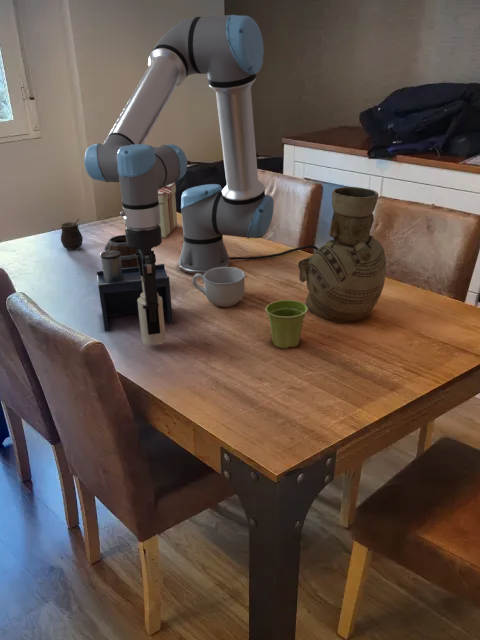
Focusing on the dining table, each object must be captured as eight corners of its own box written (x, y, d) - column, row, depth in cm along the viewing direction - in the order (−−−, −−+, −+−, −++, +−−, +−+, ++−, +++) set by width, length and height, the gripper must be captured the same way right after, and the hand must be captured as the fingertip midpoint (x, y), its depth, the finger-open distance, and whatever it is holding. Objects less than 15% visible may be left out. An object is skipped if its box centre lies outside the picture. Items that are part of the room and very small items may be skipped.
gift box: (123, 240, 217) (116, 188, 208) (136, 224, 232) (131, 175, 223) (171, 240, 214) (167, 187, 205) (182, 224, 229) (178, 174, 220)
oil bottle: (164, 333, 150) (158, 270, 141) (167, 343, 145) (161, 279, 137) (140, 336, 149) (133, 272, 140) (142, 346, 144) (135, 281, 136)
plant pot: (295, 355, 142) (296, 319, 137) (258, 346, 146) (258, 311, 141) (312, 339, 148) (314, 304, 143) (276, 331, 152) (277, 297, 148)
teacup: (251, 297, 170) (251, 269, 166) (235, 313, 162) (235, 283, 158) (204, 291, 175) (203, 263, 171) (187, 306, 167) (185, 277, 163)
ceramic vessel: (291, 300, 168) (295, 181, 151) (371, 297, 167) (384, 178, 150) (299, 331, 152) (305, 203, 135) (388, 328, 151) (404, 199, 135)
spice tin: (122, 275, 157) (119, 249, 154) (124, 282, 153) (121, 255, 150) (103, 277, 157) (99, 251, 153) (104, 284, 153) (100, 257, 149)
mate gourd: (66, 244, 216) (61, 214, 210) (87, 244, 215) (83, 214, 209) (59, 251, 210) (53, 221, 204) (81, 251, 209) (76, 221, 203)
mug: (158, 291, 177) (153, 238, 168) (122, 303, 171) (115, 249, 162) (127, 277, 187) (121, 226, 179) (92, 288, 181) (84, 236, 173)
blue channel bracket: (167, 308, 167) (163, 263, 160) (172, 323, 159) (169, 277, 152) (103, 315, 165) (96, 270, 158) (104, 331, 157) (98, 285, 150)
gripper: (121, 215, 140) (132, 313, 152) (128, 241, 124) (140, 347, 137) (155, 212, 141) (163, 310, 153) (166, 237, 125) (174, 343, 138)
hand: (152, 327), depth 145 cm, fingers closed on oil bottle, 6 cm apart
